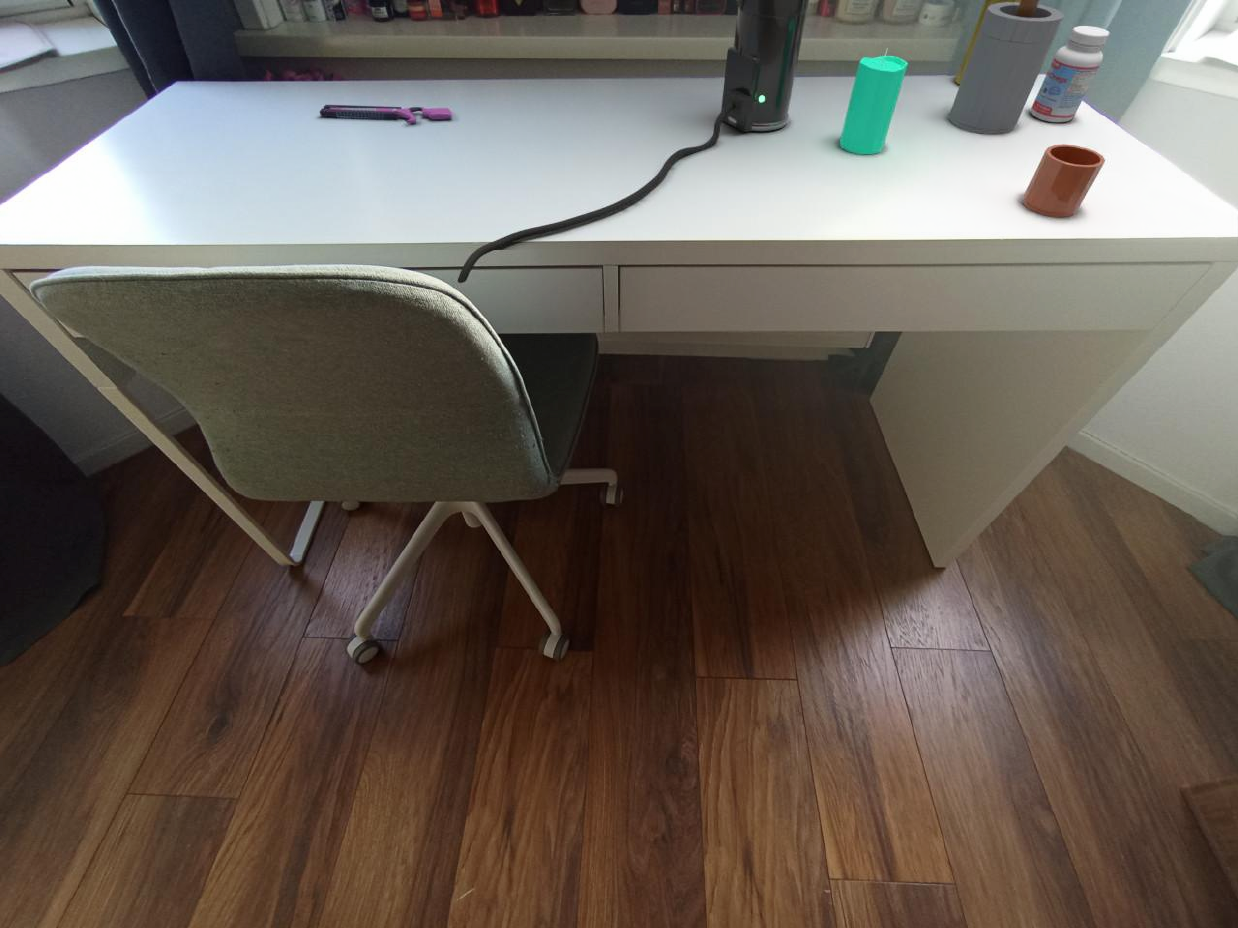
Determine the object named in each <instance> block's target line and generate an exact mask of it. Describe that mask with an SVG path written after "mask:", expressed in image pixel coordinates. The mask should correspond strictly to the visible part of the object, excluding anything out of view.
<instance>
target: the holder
mask: <svg viewBox="0 0 1238 928" xmlns="http://www.w3.org/2000/svg"><path fill="white" fill-rule="evenodd" d="M1105 162H1106V159H1105V157H1104V156H1103V155H1102V154H1101V153H1099V152H1098V151H1095V150H1093V149H1090V148H1088V147H1084V146H1079V145H1076V144H1066V143H1065V144H1063V143H1062V144H1053V145H1051V146H1048V147H1047V148H1046V149H1045V151H1044V153H1043V155H1042V157H1041V159H1040V162H1039V163H1038V165H1037V167H1036V169H1035V171H1034V173H1033V176H1032V177H1031V179H1030V182H1029V183H1028V186H1027V187H1026V190H1025V191H1024V194H1023V197H1022V199H1021V200H1022V202H1021V203H1022V204H1023V206H1025V207H1026V208H1027V209H1029V210H1030V211H1032V212H1035V213H1037V214H1039V215H1043V216H1047V217H1051V218H1068V217H1072V216H1074V215H1075V214H1077V213H1078V210H1079V209H1080V207H1081V205H1082V203H1083V202H1084V200H1085V198H1086V196H1087V194H1088V192H1090V189H1091V187H1092V186H1093V184H1094V182H1095V180H1096V179H1097V176H1098V175H1099V173H1100V171H1101V169H1102V168H1103V166H1104V164H1105Z"/></svg>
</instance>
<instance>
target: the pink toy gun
mask: <svg viewBox="0 0 1238 928" xmlns="http://www.w3.org/2000/svg"><path fill="white" fill-rule="evenodd" d="M416 112H421V113H422V116H423V117H428V118H429V119H430V120H446V119H450V118H451V117H453V112H452V111H451V109H450V108H448V107H437V108H436V107H433V108H426V107H423V106H413V107H409V108H408V107H407V108H402V106H381V105H380V106H379V105H352V104H351V105H349V104H325V105H324V106H323V108H321V109H320V110H319V114H320V116H321V117H340V118H341V117H342V118H343V117H347V118H370V119H371V118H372V119H376V118H377V119H378V118H379V119H398V118H399V117H400V118H406V119H407V120H406V123H407V124H414V123H417V120H418V119H417V117H416V116H415V115H414V114H413V113H416Z"/></svg>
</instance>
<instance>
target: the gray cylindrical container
mask: <svg viewBox="0 0 1238 928" xmlns="http://www.w3.org/2000/svg"><path fill="white" fill-rule="evenodd" d="M1019 4H1020V3H1019V2H1005V3H997V4H992V5H990V6H989V7H988V9H987V11H986V14H985V17H984V20H983V23H982V25H981V28H980V31H979V34H978V36H977V39H976V42H975V45H974V48H973V50H972V53H971V56H970V59H969V61H968V64H967V67H966V70H965V72H964V75H963V78H962V81H961V84H960V85H959V87H958V90H957V92H956V94H955V98H954V101H953V102H952V103H953V104H952V106H951V109H950V112H949V114H948V120H949V122H950V123H951V124H952V125H953V126H955V127H958V128H960V129H962V130H964V131H967V132H972V133H976V134H986V135H1002V134H1007V133H1009V132H1012V131H1014V129H1015V128H1016V125H1017V124H1018V122H1019V119H1020V118H1021V115H1022V113H1023V111H1024V109H1025V106H1026V104H1027V101H1028V99H1029V97H1030V95H1031V92H1032V91H1033V88H1034V86H1035V83H1036V81H1037V78H1038V76H1039V74H1040V72H1041V70H1042V66H1043V65H1044V63H1045V60H1046V58H1047V56H1048V54H1049V52H1050V49H1051V47H1052V45H1053V42H1054V40H1055V38H1056V35H1057V33H1058V31H1059V28H1060V26H1061V24H1062V21H1063V19H1064V17H1065V16H1064V13H1063V12H1062V11H1061V10H1058V9H1055V8H1054V7H1051V6H1046V5H1042V4H1038V5H1037V8H1036V10H1035V13H1034V15H1033V18H1025V17H1018V16H1015V14H1016V12H1017V9H1018V7H1019Z"/></svg>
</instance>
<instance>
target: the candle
mask: <svg viewBox="0 0 1238 928" xmlns="http://www.w3.org/2000/svg"><path fill="white" fill-rule="evenodd" d="M885 49H886V50H885V53H884V55H880V56H876V57H867V56H863V57H862V58H861V59H860V61H859V62H858V66H857V70H856V75H855V78H854V83H853V86H852V91H851V95H850V99H849V103H848V106H847V109H846V110H847V111H846V115H845V119H844V123H843V126H842V131H841V135H840V139H839V145H840V148H841V149H844V150H845V151H847V152H849V153H853V154H858V155H874V154H878V153H880V152H881V151H882V150H883V149H884V145H885V142H886V140H887V136H888V132H889V128H890V125H891V122H892V120H893V116H894V112H895V108H896V105H897V102H898V98H899V95H900V92H901V88H902V85H903V81H904V80H905V79H904V78H905V75H906V72H907V68H908V65H909V62H907V61H906V60H905V59H902V58H901V57H898V56H896V55H895V56H893V55H887V53H888V49H889V48H888V47H887V48H885Z"/></svg>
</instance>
